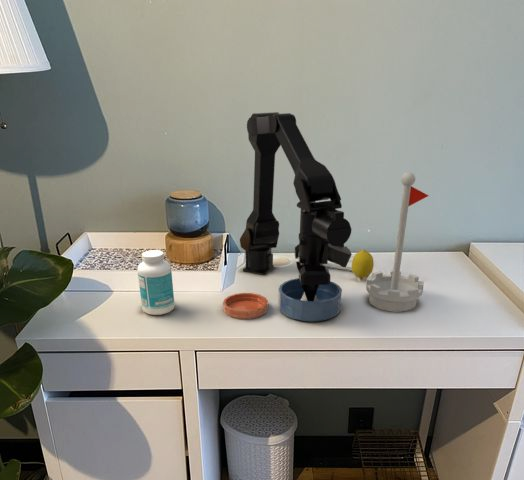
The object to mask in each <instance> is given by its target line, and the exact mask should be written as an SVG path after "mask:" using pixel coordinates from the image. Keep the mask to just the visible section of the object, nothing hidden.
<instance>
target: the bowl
mask: <svg viewBox="0 0 524 480" xmlns="http://www.w3.org/2000/svg"><path fill="white" fill-rule="evenodd" d="M303 294H304V290H303V287H302V285H301V284H300V279H299V277H295V278H292V279H289V280H287V281H284V282H282V283H281V284H280V285H279V288H278V305H277V306H278V309H279V311H280V313H282V314H283V315H284V316H286V317H288V318H291V319H292V320H296V321H302V322H323V321H327V320H330V319H332V318H334V317H337V315H339V313H340V312H341V306H342V295H343V289H342V287H341V286H340V285H339V284H338V283H336V282H334V281H331V280H330V284H328V285H319V286H318V289H317V292H316V296H317V299H318V301H302V300H301V298H302V296H303Z"/></svg>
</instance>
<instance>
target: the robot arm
mask: <svg viewBox="0 0 524 480" xmlns="http://www.w3.org/2000/svg"><path fill="white" fill-rule="evenodd" d="M246 131H247V134H248V142H249V143H250V145H251V147H252V149H253V150H254V170H253V171H254V172H253V199H252V200H253V204H252V205H253V207H252V211H251V213H250V214H249V216H248V217H247V219H246V223H245V228H244V231H243V232H242V234H241V236H240V238H239V243H240V248H241V249H243V250H244V251H245V266H244V267H243V268H242V271H243V272H246V273H251V274H258V275H266V274H267V273H269V272H270V271H271V270H272V269H274V268H275V265H274V254H273V252H272V249H276V248H277V247H278V241H279V237H280V222H279V220H277V218H276V217H275V214H274V213H273V207H274V206H273V205H274V204H273V203H274V187H275V186H274V184H275V167H276V166H275V165H276V154H277V152H278V150H279V149H280V147H281V149H282V151H283V153H284V155H285V156H286V158H287V160H288V162H289V165H290V167H291V169H292V170H293V174H294V178H293V183H292V184H293V187H294V189H295V194H296V196H297V198H298V200H299V201H298V202H297V203H296V207H297V208H299V209H300V219H299V232H298V241H299V243H298V244H297V245H296V246H294V258H295V260H297V259H298V261H296V262H295V263H296V269H297V272H298V278H299V279H300V284H301V285H302V287H303V290H304V292H305V295H306V298H307V301H314V298H315V295H316V292H317V289H318V286H319V285H328V284H330V281H331V273H330V270H329V268H328V267H325V266H323V264H327V263H328V261H330V262H333V263H336V264H338V265H340V266H341V267H346V266H347V264H348V262H349V259H350V257H351V256H353V255H352V252H351V250H350V248H348V246H347V245H346V246H345V244H346V243H347V242H348V241H349V240H350V238H351V235H352V226H351V223H350V221H348V219H346V218H345V212H344V211H342V210H339V209H342V207H343V205H342V202H341V201H342V198H341V195H340V193H339V191H338V187H337V185H336V181H335V179H334V176H333V174H332V173H331V172H330V170H329V169H328V168H327V166H326V165H325V164H324V163H321V162H319V161H318V160H317V159H316V158H315V157H314V155H313V153H312V151H311V150H310V148H309V146H308V144H307V142H306V140H305V137H304V136H303V134H302V131H301V130H300V128H299V126H298V124H297V118H296V116H295V115H294V114H293V113H290V112H287V113H280V112H276V111H275V112H257V113H256V112H255V113H252V114H251V116H250V117H249V118H248V119H247V122H246Z"/></svg>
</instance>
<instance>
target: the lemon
mask: <svg viewBox="0 0 524 480" xmlns="http://www.w3.org/2000/svg"><path fill="white" fill-rule="evenodd" d="M353 256H354V258H353V261H352V271H351V272H352V274H353V275H354V276H355V277H357V278H358V279H359V280H361V281H362V280H364V279H366V278H367V277H368V276H369V277H370V275H372V273H373V270H374V265H375V264H374V263H375V262H374V257H373V255H372V254H371V253H370V252H369V251H367V250H366V249H362V250H360V251H358V252H357V253H355V254H354V255H353Z"/></svg>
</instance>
